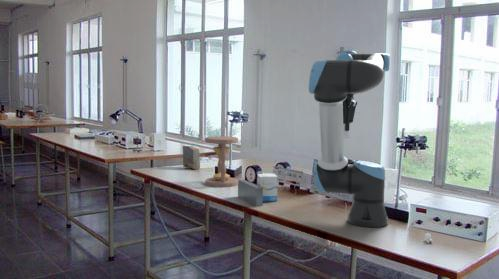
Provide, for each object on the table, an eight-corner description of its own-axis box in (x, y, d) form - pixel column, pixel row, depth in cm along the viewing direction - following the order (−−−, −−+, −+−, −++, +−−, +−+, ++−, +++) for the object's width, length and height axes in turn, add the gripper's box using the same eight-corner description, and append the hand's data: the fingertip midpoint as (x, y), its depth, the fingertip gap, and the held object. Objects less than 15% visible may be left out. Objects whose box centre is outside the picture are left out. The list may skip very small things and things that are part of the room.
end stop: (266, 205, 206) (266, 187, 206) (256, 206, 204) (256, 188, 203) (247, 195, 224) (247, 179, 224) (237, 196, 222) (238, 180, 221)
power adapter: (430, 242, 160) (431, 233, 159) (433, 244, 157) (434, 235, 157) (421, 241, 160) (422, 233, 159) (424, 244, 157) (425, 235, 157)
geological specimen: (200, 169, 297) (200, 146, 295) (192, 170, 293) (192, 146, 291) (189, 167, 305) (189, 144, 303) (182, 168, 300) (182, 145, 299)
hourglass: (236, 187, 243) (237, 139, 240) (203, 187, 243) (203, 139, 241) (238, 181, 260) (238, 136, 258) (207, 180, 261) (207, 136, 258)
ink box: (277, 201, 214) (277, 176, 212) (259, 201, 213) (259, 176, 211) (274, 197, 222) (274, 173, 221) (256, 197, 221) (256, 173, 220)
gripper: (362, 85, 206) (360, 139, 208) (344, 86, 217) (343, 136, 220) (349, 85, 203) (347, 139, 205) (331, 85, 214) (329, 136, 217)
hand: (345, 137), depth 212 cm, fingers closed
